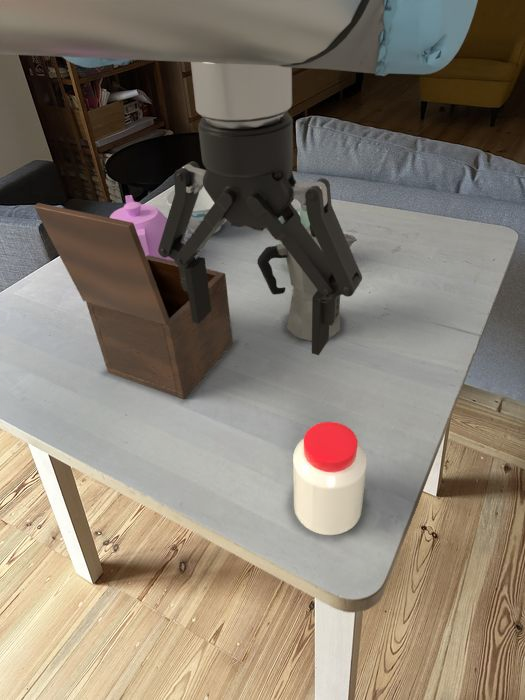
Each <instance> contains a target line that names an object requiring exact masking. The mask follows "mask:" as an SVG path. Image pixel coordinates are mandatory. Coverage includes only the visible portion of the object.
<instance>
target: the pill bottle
mask: <svg viewBox="0 0 525 700" xmlns="http://www.w3.org/2000/svg"><path fill="white" fill-rule="evenodd" d="M367 465H368V457H367V454H366V451H365V449H364V447H363V445H362V444H361V443H360V442H359V441H358V438H357V435H356V434H355V432H354V431H353V430H352V429H351V428H350V427H348V426H347V425H345V424H343V423H339V422H336V421H324V422H318V423H316V424H314V425H312V426H311V427H310V428H308V429H307V431H306V432H305V434H304V437H303V438H301V440H300V441H299V442H298V443H297V444H296V447H295V448H294V451H293V455H292V477H293V478H292V482H293V508H294V514H295V516H296V518H297V519H298V521H299V522H300V523H301V524H302V526H304V527H305V528H306V529H307V530H310V531H311V532H314V533H316V534H319V535H324V536H335V535H340V534H344V533H346V532H348V531H350V530H351V529H352V528H354V527H355V525H357V523H358V522H359V520H360V518H361V515H362V510H363V502H364V493H365V492H364V491H365V483H366V475H367V467H368V466H367Z"/></svg>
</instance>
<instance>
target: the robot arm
mask: <svg viewBox="0 0 525 700" xmlns="http://www.w3.org/2000/svg"><path fill="white" fill-rule="evenodd" d="M478 1H479V0H0V55H14V56H16V55H17V56H38V57H39V56H40V57H59V58H63V59H64V60H66V61H68V62H69V63H72V64H73V65H75V66H79V67H82V68H86V69H87V68H89V69H92V68H98V67H99V68H100V67H105V66H111V65H116V66H126V65H130V63H131V61H134V60H135V61H157V62H180V63H181V62H183V63H184V62H185V63H190V68H191V75H192V76H191V77H192V85H193V86H192V88H193V96H194V107H195V112H196V113H197V114H198V115H200V116H201V118H200V121H198V123H197V129H198V136H199V137H198V138H199V146H200V154H201V162H202V164H203V167H204V169H203V168H200V165H199V164H198V163H197V161H193V160H192V161H190V162H188V163H186V164H185V165H183V166H181V167H180V168H179V169H177V170H175V172H173V181H174V183H173V184H174V189H175V195H174V198H173V202H172V205H171V208H170V209H169V212H168V216H167V217H166V218H167V222H166V225H165V228H164V232H163V235H162V238H161V242H160V245H159V248H158V252H159V254H160V255H161V256H162V257H164V258H166V257H170V258H172V259H174V261H175V263H176V264H177V265H178V267H179V273H180V279H181V285H182V288H183V290H184V291H187V292H188V296H189V302H190V309H191V315H192V321H193V323H197V324H199V323H200V322H201V321H202V320H203V319H204V318H205V317H206V316H207V315H208V314H209V313H210V312H211V311H212V310H211V303H210V295H209V287H208V279H207V271H206V269H207V266H206V265H207V264H206V258H205V257H202V256H198V254H199V253H200V252H201V250H202V248H203V247H204V246H205V245H206V244H207V242H208V241H209V240H210V239H211V237H212V236H213V235H214V234H215V233H214V232H215V231H216V230H217V229H218V227H219V226H220V225H221V224H222V222H223V221H224V220H225V219H227V221H228V222H229V223H230V226H231V227H238V228H240V227H248V228H250V229H253V230H255V231H259V232H264V230H267V231H268V233H269V234H270V235H271V236H272V238H274V240H276V241H279V240H280V241H281V242H282V244H283V245H284V246H285V248H286V249H287V250H288V251H289V253H290V254H291V255H292V257H293V258H294V259H295V261H296V262H297V263H298V265H299V266H300V267H301V269H302V270H303V271H304V273H305V274H306V275H307V276H308V278H309V279H310V280H311V282H312V283H313V284H314V286H315V287H316V288H317V292H316V293H315V294H314V296H313V297H312V341H311V354H312V355H316V356H320V354H321V353H322V351H323V350H324V349H325V347H326V346H327V344H328V342H329V339H330V338H329V325H331V326H332V325H333V323H334V322H335V320H336V318H337V317H338V315H339V313H340V308H341V307H340V306H341V296H344V297H349V298H350V297H351V296H353V295H354V293H355V292H356V290H357V289H358V287H359V286H360V284H361V282H362V281H363V275H362V273H361V271H360V268H359V266H358V264H357V261H356V258H355V257H354V254H353V251H352V249H351V246H350V247H349V245H348V242H347V240H346V238H345V235H344V234H345V233H344V231H343V228H342V227H341V224H340V222H339V220H338V217H337V215H336V213H335V210H334V208H333V205H332V196H331V195H332V194H331V193H332V191H331V184H330V182H329V180H328V179H326V178H324V177H321V178H318V179H317V181H315V182H297V180H296V178H295V176H294V173H293V164H294V163H293V162H294V120H293V117H292V116H291V115H290V113H289V112H288V111H289V110H290V109H291V108H292V107H293V69H313V70H314V69H316V70H317V69H318V70H330V71H331V70H333V71H341V72H343V71H344V72H353V73H354V72H355V73H364V74H374V76H382V77H386V76H387V75H390V74H396V75H400V74H401V75H431V74H434V73H437V72H439V71H441V70H442V69H444V68H445V67H446V66H447V65H449V64H450V62H452V60H453V59H454V58H455V57H456V56H457V54H458V53H459V51H460V49H461V48H462V45H463V44H464V41H465V39H466V37H467V34H468V33H469V30H470V27H471V24H472V21H473V18H474V15H475V12H476V9H477V5H478ZM203 186H204V188H205V190H206V191H207V193H208V194H209V196H210V197H211V199H212V200H213V201H214V205H213V206H212V207H211V209H210V210H209V211H208V213H207V214H206V215H205V217H204V218H203V221H202V222H201V223H200V225H199V226H198V227H197V229H196V230H195V231H194V233H193V232H192V234H191V235H190V236H189V238H188V239H187V240H186V242H185V243H183V241H184V238H185V236H186V232H187V230H188V228H187V227H188V224H189V221H190V218H191V215H192V212H193V209H194V206H195V203H196V200H197V197H198V194H199V191H200V190H201V189H202V188H203ZM294 200H296V201H298V202H299V204H300V209H302V210H303V211H307V216H308V219H309V222H310V225H311V227H312V230H313V232H314V234H315V236H316V238H317V241H318V243H319V245H320V247H321V249H322V250H321V249H320V247H319V246H318V245H317V243H316V242H315V241H314V239H313V238H312V237H311V235H310V234H309V233H308V231H307V230H306V229H305V227H304V226H303V225H302V223H301V218H300V215H299V214H298V212H297V211H296V210H297V209H296V208H295V207H294V205H292V202H293V201H294ZM281 216H282V217H283V218H284V223H283V224H282V223H281V222H280V220H279V218H280V217H281ZM221 226H222V225H221ZM196 256H197V257H196Z"/></svg>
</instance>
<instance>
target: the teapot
mask: <svg viewBox="0 0 525 700" xmlns="http://www.w3.org/2000/svg"><path fill="white" fill-rule="evenodd" d="M124 197H125V204H124V205H123V207H120V208H118V209H116V210H114V211H113V212H112V213H111V214H110V215H109V218H113V219H118V220H122V221H127V222H132V223H134V226H135V229H136V231H137V234H138V237H139V239H140V242H141V245H142V247H143V250H144V253H145V255H146V256H147V255H149V256H154V257H158V258H162V259H166V260H171V261H174V259H172V258H170V257H166V258H164V257H162V256H161V255H160V254H159V252H158V248H159V245H160V242H161V238H162V235H163V232H164V228H165V225H166V222H167V218H168V217H166V216H165V215H164V213H163V212H162V211H160V210H159V209H158V208H157V207H155V206H153V205H150V204H144V203H143V204H142V203H141V202H139V201H135V200H134V198H133V194H130V195H125V196H124Z"/></svg>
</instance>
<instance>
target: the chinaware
mask: <svg viewBox="0 0 525 700" xmlns="http://www.w3.org/2000/svg"><path fill="white" fill-rule="evenodd" d="M174 195H175V188H173V189H172V190H170V191H169V192H168V193H167V195H166V197H165V201H166V204H167V206H168V209H169V210H170V208H171V205H172V202H173V198H174ZM213 205H214V201H213V200H212V199H211V197H210V196H209V194H208V193H207V191H206V190H205V188H204V186H203V188H202V189H201V190H200V191H199V194H198V197H197V200H196V203H195V206H194V209H193V212H192V215H191V218H190V221H189V224H188V227H187V229H189V230H190V232H191V233H192V234H193V233H194V231H195V230H196V229H197V227H198V226H199V225H200V223H201V222H202V221H203V218H204V217H205V215H206V214H207V213H208V211H209V210H210V209H211V207H212V206H213ZM227 221H228V220H227V219H225V220H224V221H223V222H222V224H221V225H220V226H219V227H218V229H217V230H216V231H215V232H214V234H216V233H218V232H219V231H220V230H221V229H222V226H223V225H224V224H225V223H227Z"/></svg>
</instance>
